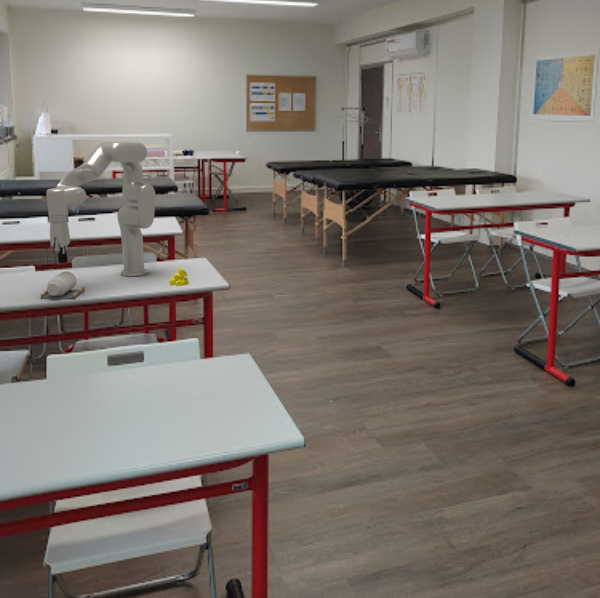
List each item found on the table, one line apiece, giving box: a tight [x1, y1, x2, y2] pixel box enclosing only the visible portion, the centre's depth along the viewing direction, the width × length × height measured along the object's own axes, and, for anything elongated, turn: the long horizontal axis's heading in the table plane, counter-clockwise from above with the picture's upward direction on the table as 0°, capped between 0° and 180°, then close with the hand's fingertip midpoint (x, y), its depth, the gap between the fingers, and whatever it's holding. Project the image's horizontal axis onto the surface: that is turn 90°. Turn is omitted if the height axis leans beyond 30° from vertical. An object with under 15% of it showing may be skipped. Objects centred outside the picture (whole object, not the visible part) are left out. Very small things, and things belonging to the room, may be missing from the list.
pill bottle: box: [46, 271, 77, 296], centre depth 283 cm, size 8×8×15 cm
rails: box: [40, 286, 86, 300], centre depth 284 cm, size 12×14×2 cm
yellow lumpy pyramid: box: [169, 266, 189, 287], centre depth 300 cm, size 6×8×8 cm
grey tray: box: [42, 289, 86, 300], centre depth 284 cm, size 12×14×1 cm
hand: (63, 262), depth 284 cm, fingers closed
